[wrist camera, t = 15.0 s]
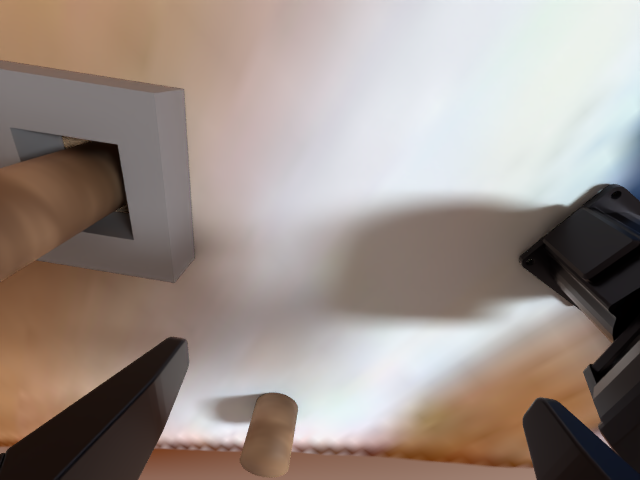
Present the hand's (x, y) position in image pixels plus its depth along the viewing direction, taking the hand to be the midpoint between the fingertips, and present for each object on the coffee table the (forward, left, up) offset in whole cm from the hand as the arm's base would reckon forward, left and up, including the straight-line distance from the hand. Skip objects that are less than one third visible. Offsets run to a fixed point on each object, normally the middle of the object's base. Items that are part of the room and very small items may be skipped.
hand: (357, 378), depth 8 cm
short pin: (-7, +21, -13) cm, 26 cm away
